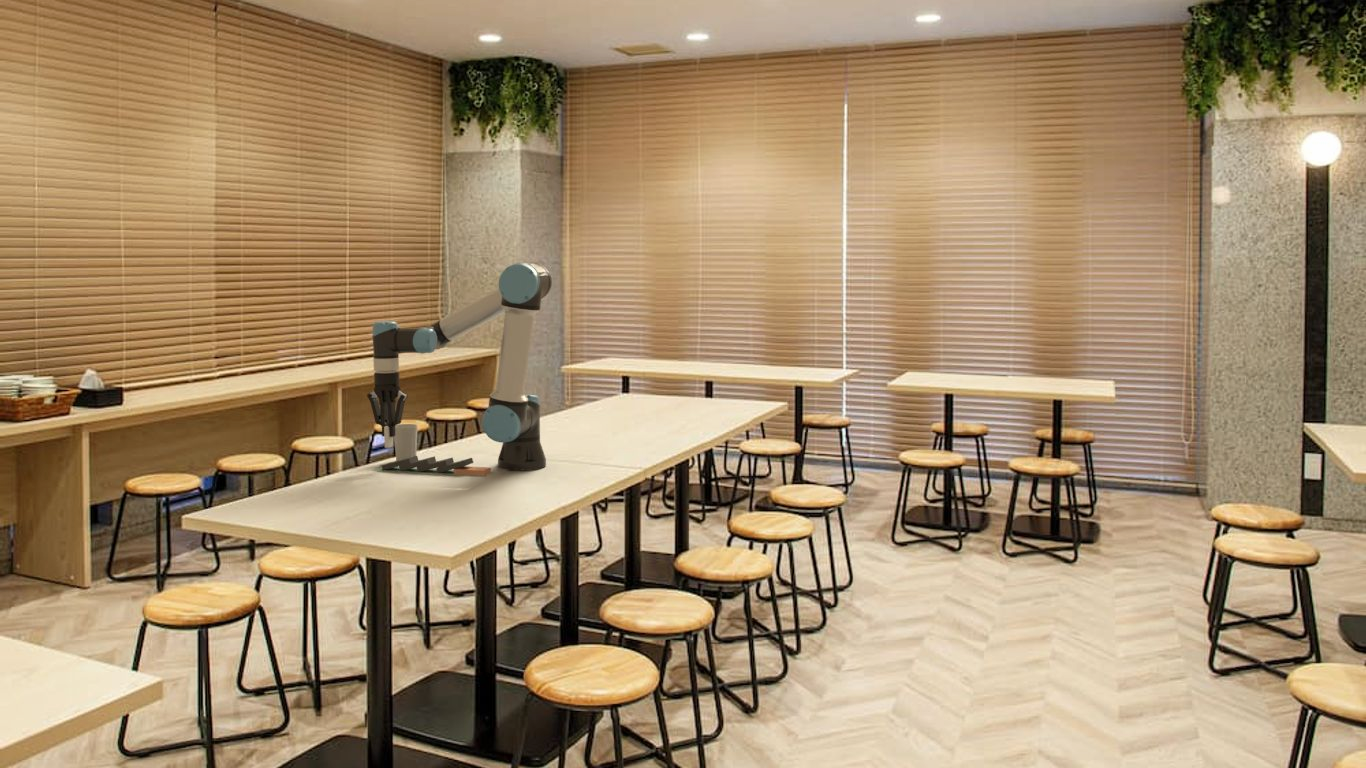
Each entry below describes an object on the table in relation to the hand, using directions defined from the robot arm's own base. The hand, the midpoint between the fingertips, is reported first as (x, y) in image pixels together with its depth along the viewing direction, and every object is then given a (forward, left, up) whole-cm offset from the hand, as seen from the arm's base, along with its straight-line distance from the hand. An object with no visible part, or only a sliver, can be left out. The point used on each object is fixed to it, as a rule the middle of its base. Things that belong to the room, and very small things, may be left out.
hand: (389, 446), depth 335 cm
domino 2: (-5, 0, -6) cm, 8 cm away
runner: (-14, 0, -7) cm, 16 cm away
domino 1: (+1, 0, -6) cm, 6 cm away
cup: (+2, -13, -8) cm, 15 cm away
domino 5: (-23, 0, -6) cm, 24 cm away
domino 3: (-11, 0, -6) cm, 12 cm away
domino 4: (-17, 0, -6) cm, 18 cm away
